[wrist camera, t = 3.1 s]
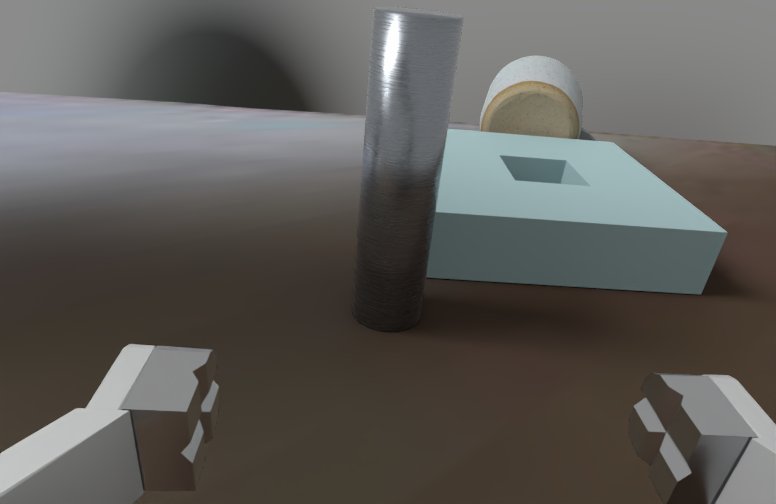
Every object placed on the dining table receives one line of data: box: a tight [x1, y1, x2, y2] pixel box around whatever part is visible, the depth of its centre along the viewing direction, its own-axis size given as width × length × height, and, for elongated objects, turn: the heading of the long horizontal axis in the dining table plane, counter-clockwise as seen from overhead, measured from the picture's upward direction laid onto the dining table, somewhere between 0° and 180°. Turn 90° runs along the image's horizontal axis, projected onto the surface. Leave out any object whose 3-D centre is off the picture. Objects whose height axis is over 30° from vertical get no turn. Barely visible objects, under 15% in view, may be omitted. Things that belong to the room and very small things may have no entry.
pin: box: [352, 7, 464, 332], centre depth 21 cm, size 3×3×12 cm
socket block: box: [426, 129, 728, 295], centre depth 33 cm, size 14×14×4 cm
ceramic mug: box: [480, 56, 598, 141], centre depth 42 cm, size 11×8×8 cm
